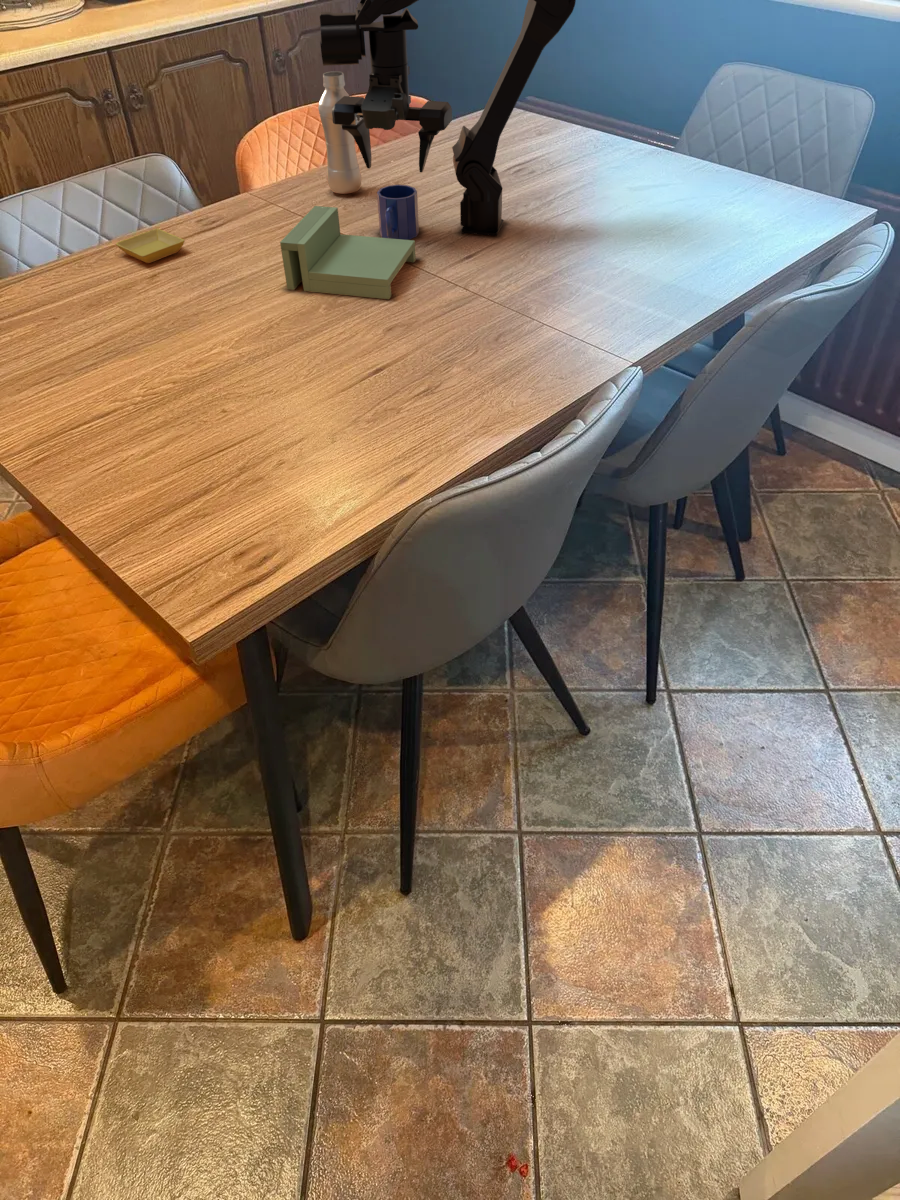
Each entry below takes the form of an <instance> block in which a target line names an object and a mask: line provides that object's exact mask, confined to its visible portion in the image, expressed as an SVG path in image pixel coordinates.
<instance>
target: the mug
mask: <svg viewBox="0 0 900 1200" xmlns="http://www.w3.org/2000/svg"><path fill="white" fill-rule="evenodd" d="M376 199H377V212H378V226H379V234H380V236H381V238H391V239H402V240H413V239H414V238H416V237H418V235H419V233H420V225H419V223H420V222H419V202H418V190H417V189H416V188H415V187H413V186H410V185H407V184H390V185H387V186H383V187H381V188H379V189H378V190H377V192H376Z"/></svg>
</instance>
